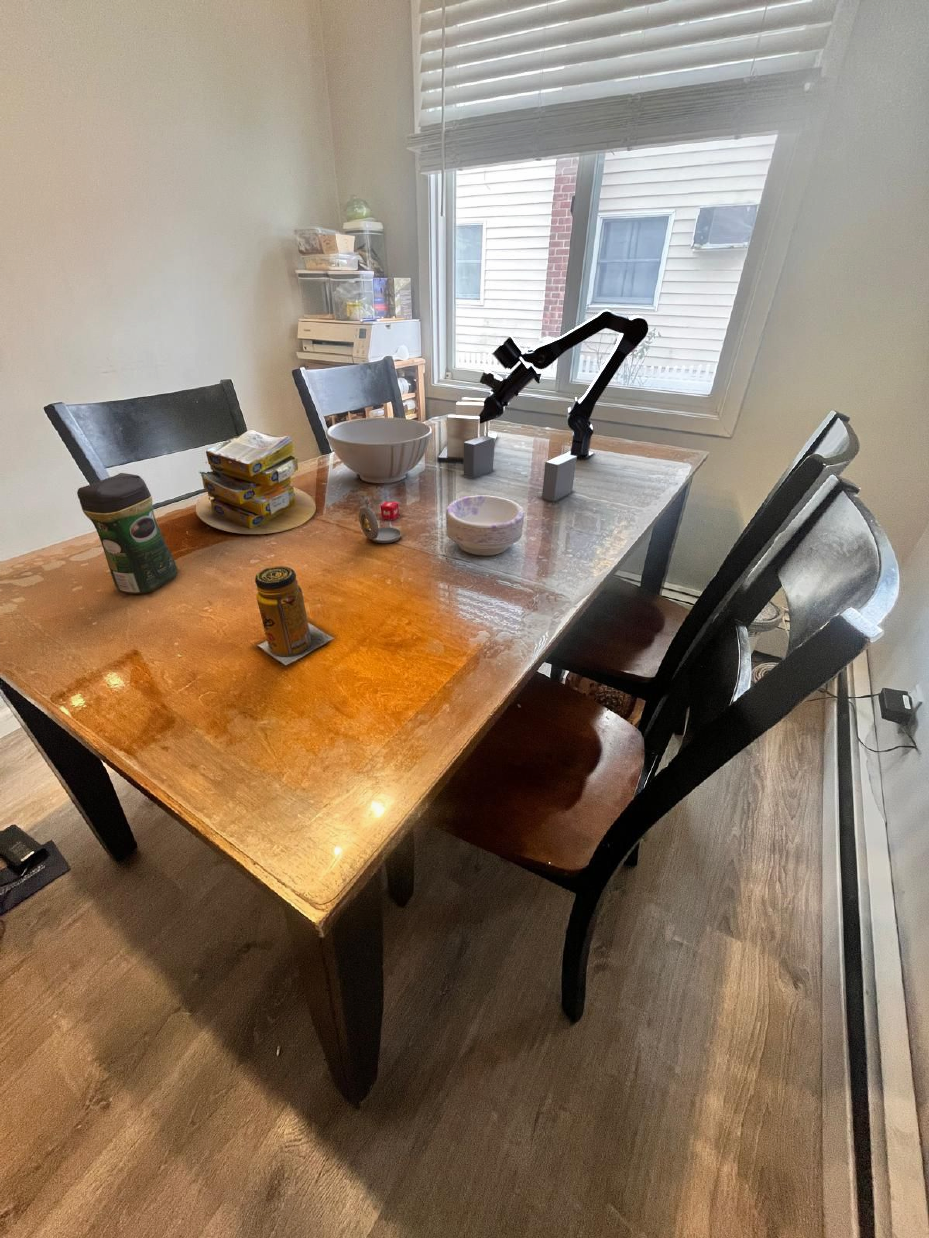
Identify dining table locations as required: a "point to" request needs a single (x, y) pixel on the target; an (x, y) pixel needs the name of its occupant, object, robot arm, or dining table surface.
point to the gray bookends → (555, 473)
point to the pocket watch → (376, 526)
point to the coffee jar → (128, 533)
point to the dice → (389, 510)
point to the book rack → (461, 434)
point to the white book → (471, 413)
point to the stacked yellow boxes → (253, 486)
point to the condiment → (285, 616)
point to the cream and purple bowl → (484, 524)
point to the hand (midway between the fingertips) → (477, 420)
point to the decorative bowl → (380, 446)
